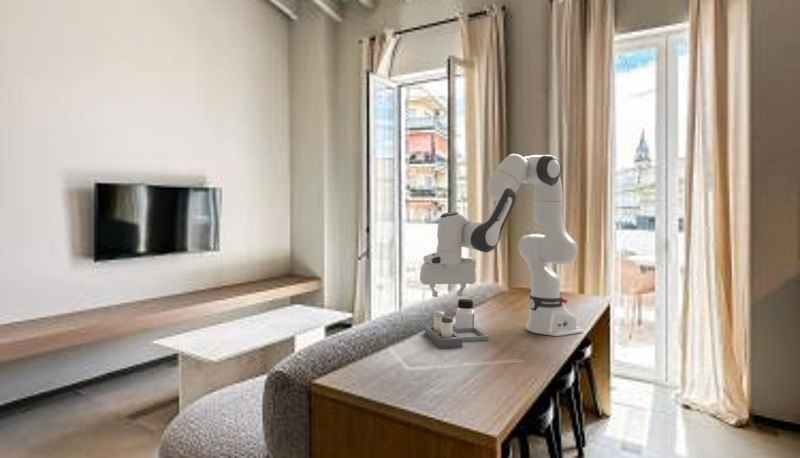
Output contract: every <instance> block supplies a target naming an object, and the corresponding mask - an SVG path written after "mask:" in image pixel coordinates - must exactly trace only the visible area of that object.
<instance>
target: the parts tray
mask: <svg viewBox="0 0 800 458" xmlns="http://www.w3.org/2000/svg"><path fill="white" fill-rule="evenodd" d="M452 331H453V332H454V333H456V334H457V335H458V336H460V337H461V338H462V343H463V342H477V341H489V335H488V334H487V333H485V332H483V331H482V330H481V329H479V328H477V327H475V326H473V327H470V328H456V327H454V328H453V327H452ZM473 332H474V333H475V334H477V335H475V336H474V335H473V336H472V335H471V336H461V335H460V334H459V333H473Z"/></svg>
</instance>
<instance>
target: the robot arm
mask: <svg viewBox="0 0 800 458" xmlns="http://www.w3.org/2000/svg"><path fill="white" fill-rule="evenodd" d="M561 173H562V166H561V163H560V161H559V159H558V158H557V157H556V156H554V155H551V154H542V155H541V154H533V155H529V156H522V155H521V154H515V153H512V154H509V155H507V156H506V157H505V158H504V159H503V160H502V161H501V162H500V164H498V166H497V167H496V168H495V170H494V172H493V173H492V174H491V176H490V177H489V179H488V181H487V184H486V191H487V193H488V195H489V196H490V198H491V199H492V200H493V201H495V205H494V206H493V209H492V211H491V213H490V214H489V216H488V218H487V219H486V220H485V221H482V222H475V221H471V220H470V219H468V218H465V216H463V215H462V213H461V212H457V211H452V212H451V211H450V212H445V213H442V214H441V215H440V217H439V219H438V224H437V231H436V232H437V234H436V235H437V246H436V252H433V253H429V254H426V255H424V256H423V262H424V263H423V264H422V265H421V266H420V267H421V269H420V271H419V272H420V273H419V274H420V275H419V280H420V283H422V284H423V285H429V288H430V290H431V295H432V298H438V296H439V295H438V293H439V292H438V291H436V290H435V288H436V285H460V288H459V289H458V290H456V295H457V297H463V294H464V293H463V292H464V291H465V289H466V287H467V285H468V284H469V285H470V284H472V285H473V284H475V282H476V280H477V279H476V277H477V275H476V265H477V264H476V263H477V262H476V260H475V259H474V258H472V257H462V253H463V251H462V249H463V248H464V249H465V248H466V249H471V250H476V251H479V252H482V253H490V252H492V251H493V250H495V249H496V247H497V246H498V245H499V242H500V239H501V236H502V231H503V229H504V227H505V225H506V223H507V221H508V219H509V217H510V214H511V213H512V210H513V208H514V206H515V204H516V200H517V191H518V190H519V188H520V186H521V185H522V184H523V185H524V184H526V185H527V184H528V185H533V186H534V195H533V219H534V222H535V223H536V224H537V225H539V226H540V228H541V229H542V232H543V234H538V233H534V234H533V233H531V234H527V235H523V236H522V237H521V238H520V240H519V241H518V244H517V246H518V247H517V248H518V252H519V255H520V256H521V257H522V258H523V259H524V260H525V262H526V264H527V266H528V269H529V272H530V281H531V282H530V286H531V287H530V289H531V290H530V294H529V314H528V319H527V321H526V326H525V329H526V330H527V331H529V332H531V333H535V334H538V335H539V334H540V335H545V336H546V335H547V336H552V337H561V336H562V337H563V336H568V335H575V334H576V335H577V334H582V333H583V329H582V328H581V327H580V326H578V324H577V319H576V316H575V314H574V313H572V312H571V311H570V310H568V309H567V308H566V307H565V306H564V304H567V303H568V298H566V297H563V298H562V297H561V296H560V289H561V288H560V287H561V285H560V284H561V279H560V277H559V274H557V273H556V272H555V271H554V270H553V268H552V266H551V264H556V265H566V264H573V262H575V261H576V259H577V258H578V255H579V247H578V243H577V242H576V241H575V240H574V239H573V238H572V237H571V236H570V234H569V233H568V231H567V229H566V226H565V224H564V215H563V214H564V213H563V211H564V210H563V209H564V208H563V207H564V206H563V205H564V204H563V203H564V194H563V185H562V179H561V177H560V176H561ZM563 303H564V304H563Z"/></svg>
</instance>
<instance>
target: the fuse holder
mask: <svg viewBox="0 0 800 458" xmlns="http://www.w3.org/2000/svg"><path fill="white" fill-rule="evenodd" d="M420 334H421V335H422V336H423V337H425V338H426V339H427V340H428V341H429V342H430V343H431V344H432V345H433V346H434V347H436V348H437V349H438V350H453V349H466V348H467V347H466V346H464V345H463V342H462V338H461V337H462V336H461V335H460V336H461V337H460V336H458V335H457V334H458V333H457V334H456V333H454V332H453V331H452V337H447V338H442V337H441V331H434V325H425V326H424V332H422V333H421V332H420Z"/></svg>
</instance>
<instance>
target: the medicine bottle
mask: <svg viewBox="0 0 800 458" xmlns="http://www.w3.org/2000/svg"><path fill="white" fill-rule="evenodd" d="M473 308H474V301H473V300H472V299H470V298H460V299H458V300H457V309H456V311H455V326H454V328H470V327H475V326H474V325H475V310H474V309H473Z"/></svg>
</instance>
